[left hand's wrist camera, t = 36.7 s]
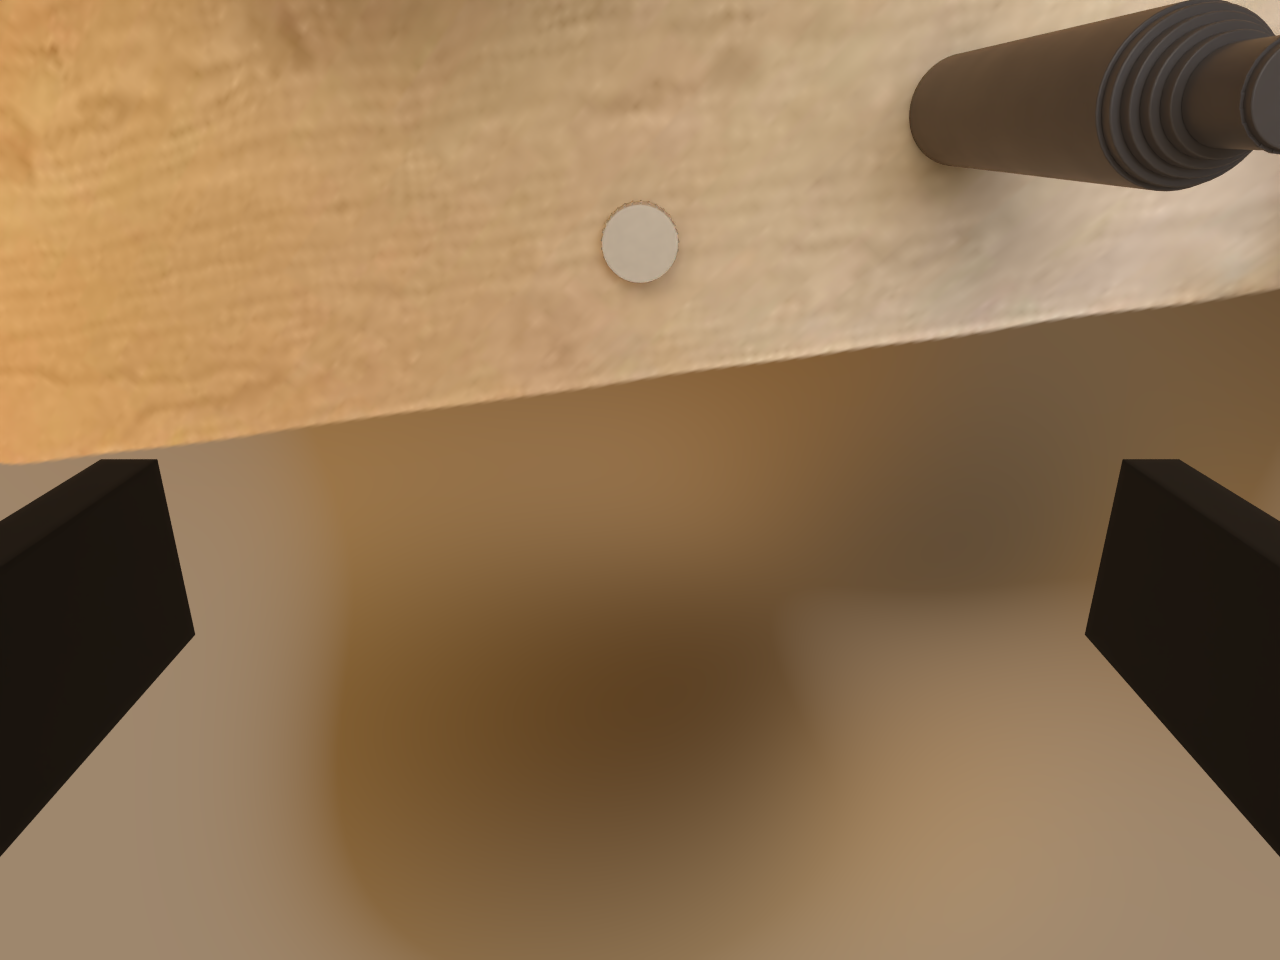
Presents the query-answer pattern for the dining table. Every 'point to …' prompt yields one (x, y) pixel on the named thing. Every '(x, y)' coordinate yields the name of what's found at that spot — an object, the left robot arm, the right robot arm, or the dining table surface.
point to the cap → (640, 242)
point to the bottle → (1111, 99)
